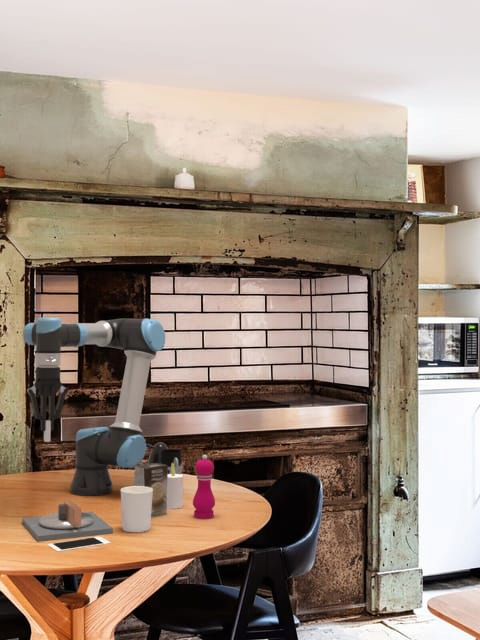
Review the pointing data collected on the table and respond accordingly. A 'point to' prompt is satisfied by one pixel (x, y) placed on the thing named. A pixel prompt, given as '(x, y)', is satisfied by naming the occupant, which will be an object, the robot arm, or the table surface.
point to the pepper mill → (204, 489)
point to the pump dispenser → (156, 452)
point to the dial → (66, 518)
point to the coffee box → (154, 484)
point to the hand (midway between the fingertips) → (47, 441)
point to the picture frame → (172, 459)
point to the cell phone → (78, 543)
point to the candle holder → (136, 508)
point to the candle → (174, 490)
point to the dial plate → (53, 534)
